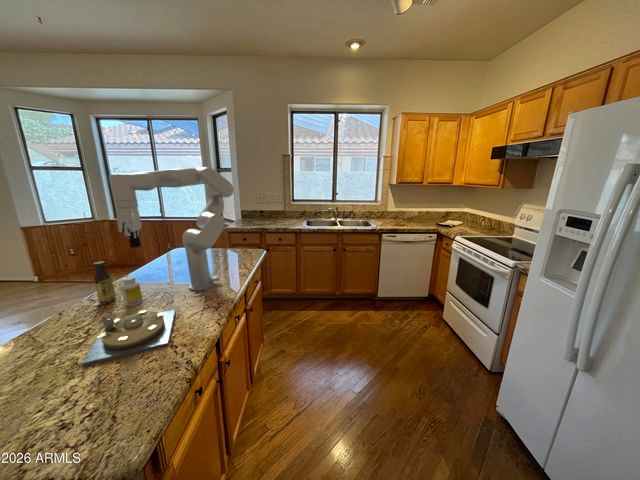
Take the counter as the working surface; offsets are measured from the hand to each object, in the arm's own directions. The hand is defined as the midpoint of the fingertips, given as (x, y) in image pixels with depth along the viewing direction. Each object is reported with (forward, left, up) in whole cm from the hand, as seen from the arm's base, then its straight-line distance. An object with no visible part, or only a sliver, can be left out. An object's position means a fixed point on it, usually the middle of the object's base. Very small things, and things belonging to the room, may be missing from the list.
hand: (135, 246), depth 108 cm
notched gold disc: (0, +23, -27) cm, 36 cm away
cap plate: (0, +23, -29) cm, 37 cm away
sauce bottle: (+19, -14, -29) cm, 38 cm away
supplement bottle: (+7, -7, -29) cm, 31 cm away
